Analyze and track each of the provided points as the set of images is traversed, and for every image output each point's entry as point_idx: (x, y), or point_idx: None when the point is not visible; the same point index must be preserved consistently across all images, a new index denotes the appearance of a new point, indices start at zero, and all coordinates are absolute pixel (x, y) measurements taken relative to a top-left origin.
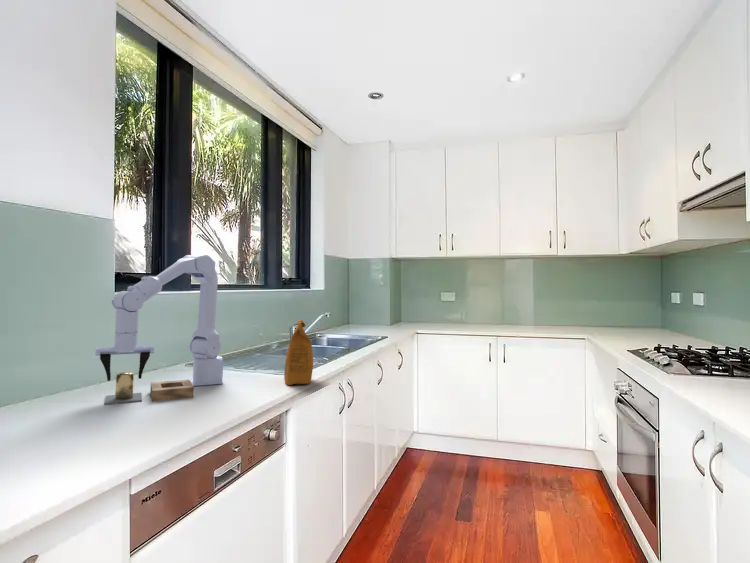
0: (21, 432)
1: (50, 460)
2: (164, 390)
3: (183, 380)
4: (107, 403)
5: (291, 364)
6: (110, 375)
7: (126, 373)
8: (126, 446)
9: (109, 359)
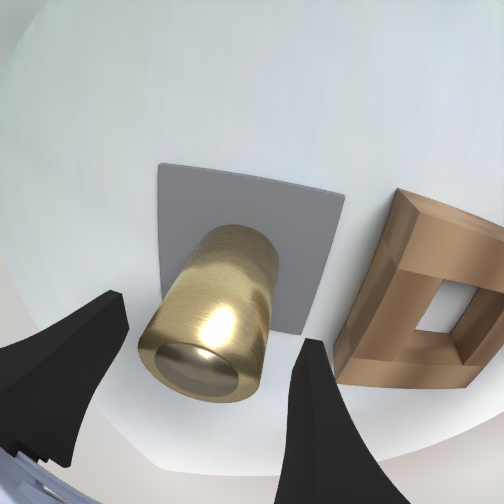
0: None
1: (150, 444)
2: (379, 384)
3: None
4: None
5: None
6: (109, 332)
7: (204, 385)
8: (220, 462)
9: (68, 458)
